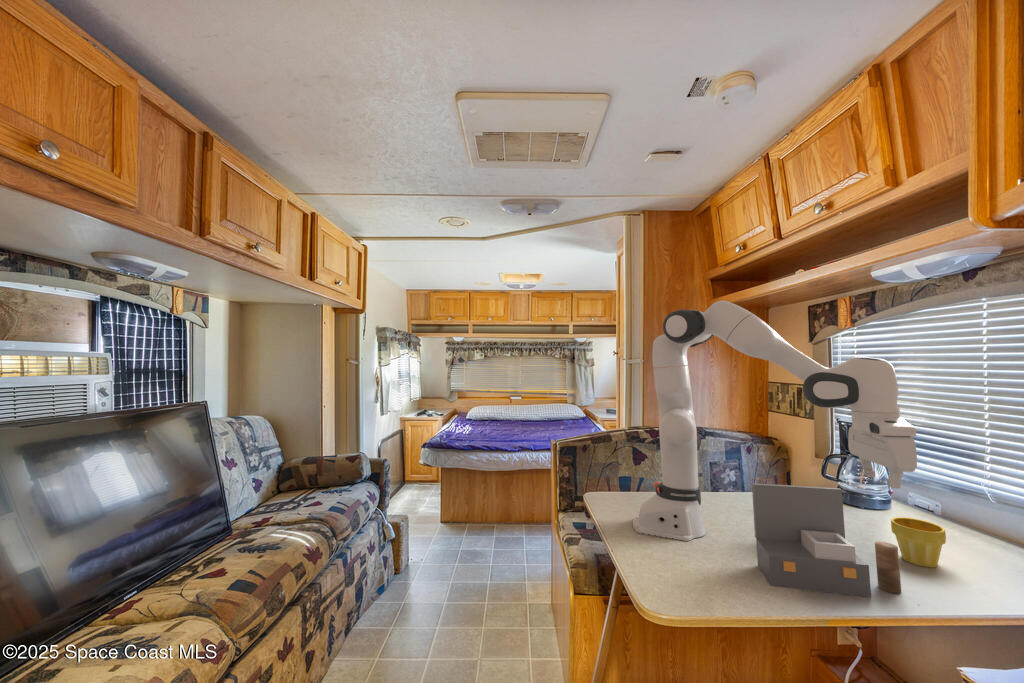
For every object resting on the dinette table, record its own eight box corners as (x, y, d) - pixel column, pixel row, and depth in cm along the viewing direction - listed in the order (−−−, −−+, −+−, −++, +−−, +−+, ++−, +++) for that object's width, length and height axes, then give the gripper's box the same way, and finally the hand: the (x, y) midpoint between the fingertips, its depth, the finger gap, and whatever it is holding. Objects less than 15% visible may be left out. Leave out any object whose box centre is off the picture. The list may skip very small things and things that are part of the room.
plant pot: (960, 573, 101) (956, 533, 101) (909, 568, 103) (906, 529, 104) (930, 555, 111) (926, 518, 111) (884, 551, 113) (881, 515, 114)
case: (771, 586, 96) (766, 496, 97) (756, 563, 107) (751, 483, 109) (872, 598, 90) (865, 503, 92) (845, 572, 102) (839, 488, 103)
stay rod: (884, 592, 93) (881, 547, 93) (874, 583, 97) (870, 540, 97) (905, 594, 92) (902, 549, 92) (894, 585, 95) (891, 542, 96)
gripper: (838, 418, 108) (842, 470, 107) (886, 429, 88) (891, 493, 87) (866, 418, 106) (871, 471, 105) (921, 429, 86) (928, 495, 85)
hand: (881, 481), depth 96 cm, fingers open, 8 cm apart
